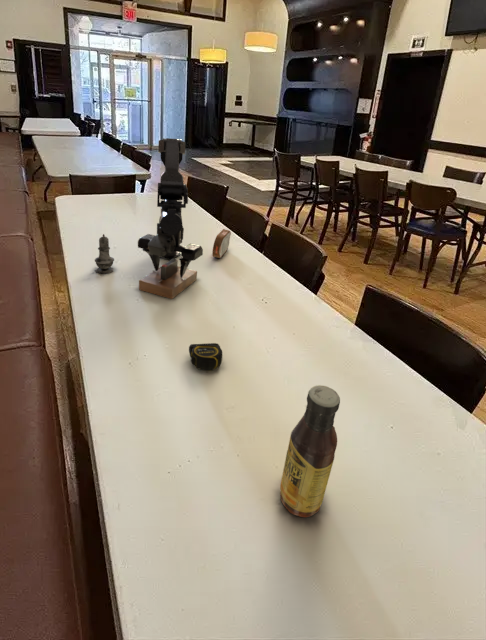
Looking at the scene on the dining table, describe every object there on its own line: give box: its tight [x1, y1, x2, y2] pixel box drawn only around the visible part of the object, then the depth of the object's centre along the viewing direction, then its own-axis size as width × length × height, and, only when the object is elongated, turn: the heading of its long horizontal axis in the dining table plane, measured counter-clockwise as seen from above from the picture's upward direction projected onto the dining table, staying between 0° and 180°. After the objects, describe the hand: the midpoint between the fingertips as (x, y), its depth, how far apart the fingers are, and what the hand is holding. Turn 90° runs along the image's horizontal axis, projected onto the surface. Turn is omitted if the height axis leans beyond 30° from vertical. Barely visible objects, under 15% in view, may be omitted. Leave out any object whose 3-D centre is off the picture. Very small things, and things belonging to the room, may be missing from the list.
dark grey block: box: [160, 258, 179, 280], centre depth 122 cm, size 7×2×4 cm, turn 157°
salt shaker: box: [94, 233, 115, 275], centre depth 127 cm, size 6×6×12 cm
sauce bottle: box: [279, 384, 341, 518], centre depth 57 cm, size 6×6×20 cm
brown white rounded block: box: [211, 228, 232, 259], centre depth 149 cm, size 15×3×8 cm, turn 164°
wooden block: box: [138, 265, 198, 300], centre depth 123 cm, size 15×11×3 cm
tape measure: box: [188, 342, 223, 371], centre depth 88 cm, size 7×7×4 cm
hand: (169, 273), depth 122 cm, fingers open, 8 cm apart
